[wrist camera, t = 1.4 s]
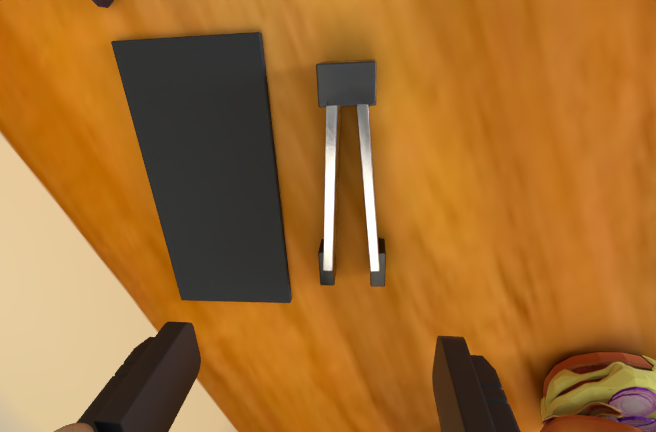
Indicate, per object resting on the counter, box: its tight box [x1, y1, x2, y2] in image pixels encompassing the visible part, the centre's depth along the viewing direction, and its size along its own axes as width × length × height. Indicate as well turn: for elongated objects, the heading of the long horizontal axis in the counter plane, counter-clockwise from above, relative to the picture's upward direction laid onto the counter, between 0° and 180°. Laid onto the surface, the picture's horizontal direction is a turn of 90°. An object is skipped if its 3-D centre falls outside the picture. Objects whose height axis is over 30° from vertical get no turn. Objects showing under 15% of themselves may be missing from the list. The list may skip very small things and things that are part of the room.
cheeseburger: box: [540, 352, 656, 432], centre depth 29 cm, size 10×11×10 cm
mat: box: [111, 32, 291, 303], centre depth 27 cm, size 21×10×1 cm, turn 3°
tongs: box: [316, 59, 386, 286], centre depth 25 cm, size 16×5×3 cm, turn 3°
